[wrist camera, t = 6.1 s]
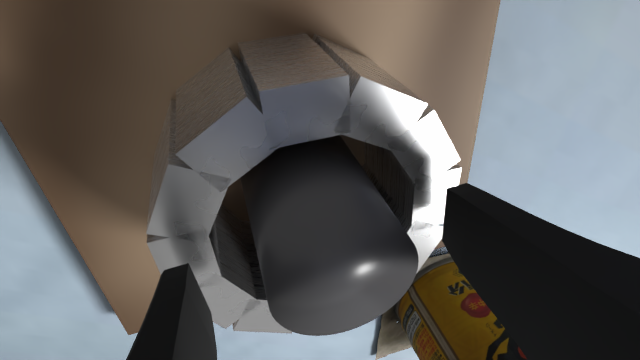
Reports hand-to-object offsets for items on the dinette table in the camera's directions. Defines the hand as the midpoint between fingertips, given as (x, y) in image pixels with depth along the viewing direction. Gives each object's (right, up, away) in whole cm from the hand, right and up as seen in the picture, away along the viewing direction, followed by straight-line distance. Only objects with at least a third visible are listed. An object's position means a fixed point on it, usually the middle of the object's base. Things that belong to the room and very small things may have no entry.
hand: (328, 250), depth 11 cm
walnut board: (-2, +3, +5) cm, 6 cm away
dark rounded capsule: (-1, +3, +4) cm, 5 cm away
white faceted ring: (-2, +3, +5) cm, 6 cm away
